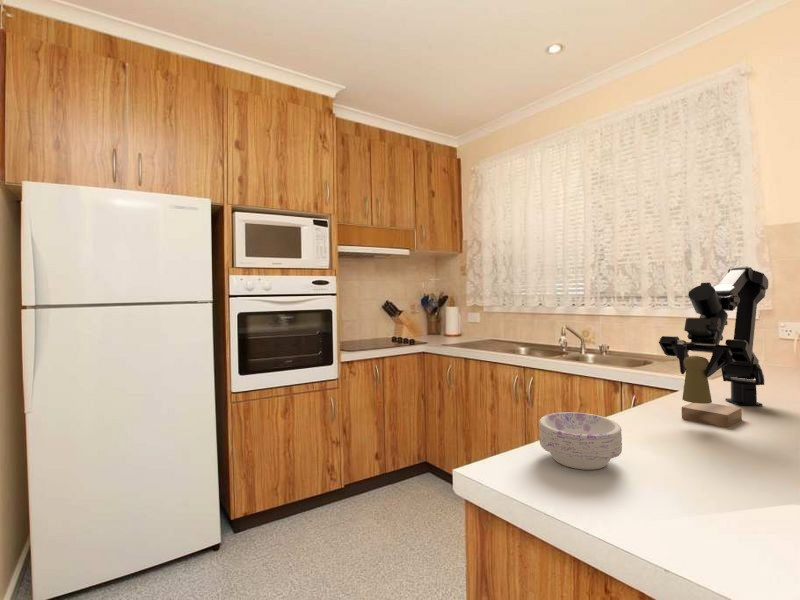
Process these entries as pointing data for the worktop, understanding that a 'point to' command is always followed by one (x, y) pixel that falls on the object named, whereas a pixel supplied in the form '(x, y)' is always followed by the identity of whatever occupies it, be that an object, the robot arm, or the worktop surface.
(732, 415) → the base block
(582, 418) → the paper bowls
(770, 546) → the worktop surface
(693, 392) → the cork
